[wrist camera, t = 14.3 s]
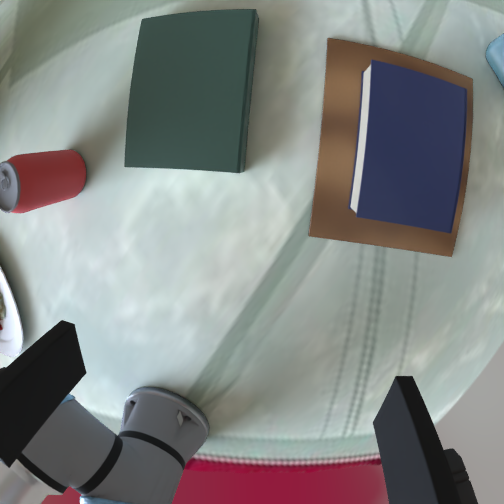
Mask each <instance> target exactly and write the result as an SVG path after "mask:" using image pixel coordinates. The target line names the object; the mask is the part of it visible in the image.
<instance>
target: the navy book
mask: <svg viewBox="0 0 504 504" xmlns="http://www.w3.org/2000/svg"><path fill="white" fill-rule="evenodd" d="M466 123H467V89H465V88H463V87H460V86H458V85H455V84H453V83H450V82H447V81H444V80H442V79H439V78H436V77H433V76H430V75H427V74H424V73H421V72H418V71H414V70H411V69H407V68H404V67H400V66H397V65H393V64H389V63H385V62H381V61H377V60H371V65H370V66H369V67H368V68H367V70H366V71H362V75H361V93H360V108H359V121H358V132H357V142H356V151H355V160H354V169H353V177H352V184H351V192H350V199H349V205H348V209H352V210H354V211H355V212H356V217H358V218H365V219H371V220H377V221H384V222H390V223H396V224H401V225H407V226H413V227H418V228H424V229H429V230H435V231H440V232H445V233H450V234H451V233H452V228H453V224H454V219H455V214H456V208H457V203H458V197H459V191H460V184H461V177H462V170H463V161H464V151H465V139H466Z"/></svg>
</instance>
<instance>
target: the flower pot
mask: <svg viewBox="0 0 504 504" xmlns="http://www.w3.org/2000/svg"><path fill="white" fill-rule="evenodd" d="M486 59H487V61H488V63H489V64H490V66H491V67H492V69H493V71H494V72H495V74H496V75H497V77H498V79H499V81H500V82H501V84H502V86H503V88H504V33H503V34H502V35H501V36H499V37H498V38H496V39H495V40H494V41H492V42H491V43H490V44H489V46H488V48H487V50H486Z"/></svg>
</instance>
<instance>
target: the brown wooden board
mask: <svg viewBox="0 0 504 504" xmlns="http://www.w3.org/2000/svg"><path fill="white" fill-rule="evenodd" d="M371 60H377V61H381V62H385V63H389V64H393V65H397V66H400V67H404V68H407V69H411V70H414V71H418V72H421V73H424V74H427V75H430V76H433V77H436V78H439V79H442V80H444V81H447V82H450V83H453V84H455V85H458V86H460V87H463V88H465V89H467V123H466V139H465V151H464V161H463V170H462V177H461V184H460V191H459V197H458V203H457V208H456V214H455V219H454V224H453V228H452V233H451V234H450V233H445V232H440V231H435V230H429V229H424V228H418V227H413V226H407V225H401V224H396V223H390V222H384V221H377V220H371V219H365V218H358V217H356V212H355V211H354V210H352V209H348V205H349V199H350V192H351V184H352V177H353V169H354V160H355V151H356V142H357V132H358V121H359V108H360V93H361V75H362V71H366V70H367V68H368V67H369V66H370V65H371ZM472 124H473V79H471V78H469V77H467V76H464V75H462V74H460V73H457V72H455V71H452V70H449V69H447V68H444V67H441V66H439V65H436V64H433V63H430V62H427V61H424V60H421V59H418V58H415V57H411V56H408V55H405V54H401V53H397V52H394V51H390V50H386V49H382V48H378V47H374V46H369V45H364V44H360V43H355V42H349V41H344V40H338V39H332V38H328V39H327V57H326V73H325V88H324V101H323V113H322V124H321V134H320V145H319V154H318V163H317V172H316V181H315V189H314V197H313V205H312V212H311V220H310V227H309V234H308V235H309V236H311V237H319V238H326V239H334V240H341V241H348V242H355V243H362V244H370V245H376V246H383V247H390V248H397V249H404V250H410V251H417V252H423V253H430V254H436V255H442V256H449V257H452V254H453V250H454V246H455V242H456V238H457V233H458V229H459V224H460V219H461V214H462V209H463V204H464V198H465V192H466V185H467V178H468V171H469V162H470V152H471V140H472Z"/></svg>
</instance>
